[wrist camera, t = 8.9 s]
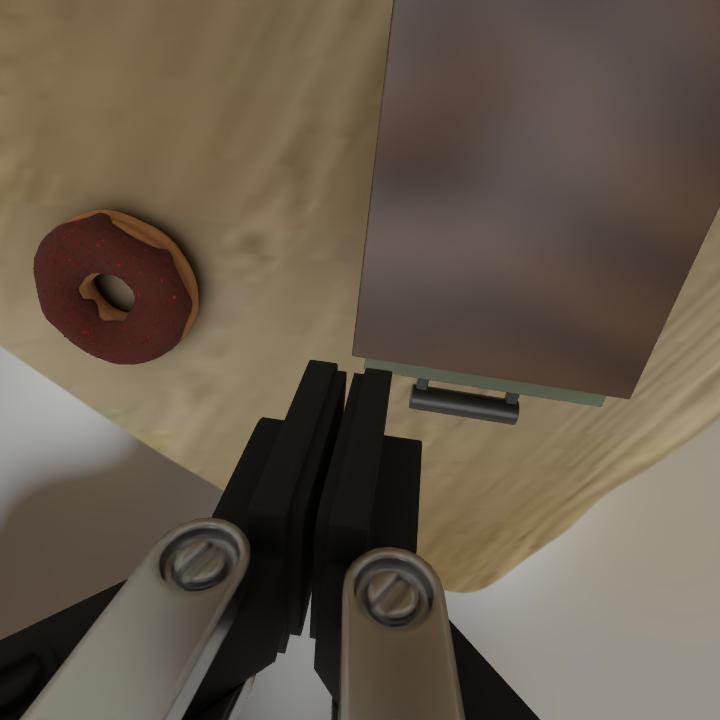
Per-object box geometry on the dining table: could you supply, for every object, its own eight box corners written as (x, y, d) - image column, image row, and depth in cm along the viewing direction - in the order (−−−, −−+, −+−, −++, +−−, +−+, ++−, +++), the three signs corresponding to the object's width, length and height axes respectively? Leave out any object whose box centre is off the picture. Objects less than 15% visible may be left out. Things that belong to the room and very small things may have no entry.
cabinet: (579, 308, 31) (630, 400, 23) (372, 278, 32) (351, 356, 24) (682, 22, 24) (813, 7, 16) (410, -11, 24) (398, -42, 16)
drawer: (546, 387, 33) (573, 471, 27) (370, 360, 34) (355, 435, 27) (656, 78, 24) (740, 88, 18) (414, 47, 25) (407, 46, 18)
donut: (106, 358, 38) (73, 389, 34) (27, 229, 33) (-20, 249, 30) (230, 330, 35) (208, 360, 32) (162, 185, 31) (129, 202, 27)
